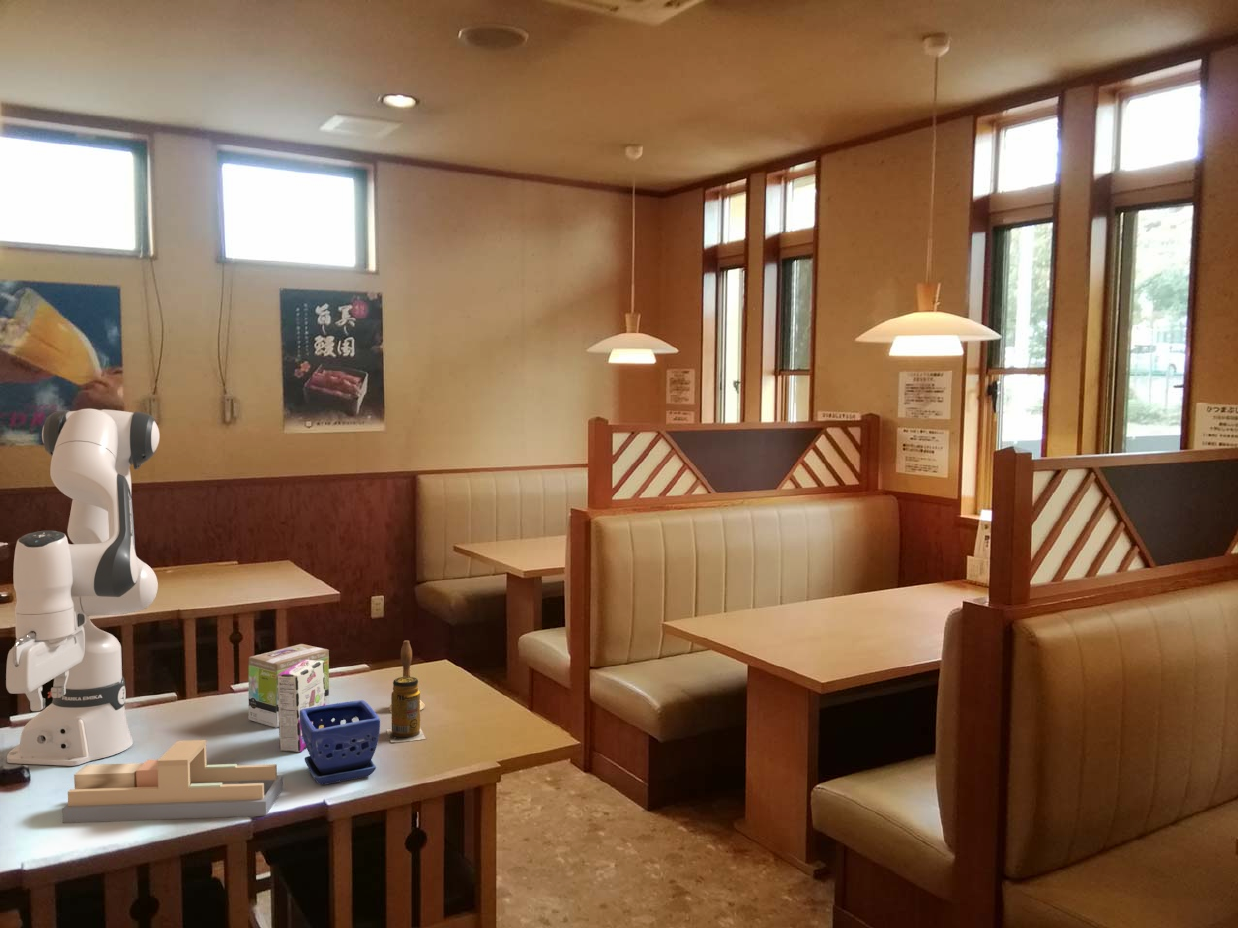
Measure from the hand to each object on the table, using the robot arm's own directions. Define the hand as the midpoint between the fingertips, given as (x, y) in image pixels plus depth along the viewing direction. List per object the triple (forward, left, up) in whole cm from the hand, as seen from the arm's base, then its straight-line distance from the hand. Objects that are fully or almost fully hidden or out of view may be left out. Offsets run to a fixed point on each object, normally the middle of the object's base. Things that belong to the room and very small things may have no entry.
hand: (48, 702), depth 167 cm
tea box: (+29, +47, -20) cm, 59 cm away
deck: (+21, 0, -19) cm, 29 cm away
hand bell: (+55, +50, -19) cm, 77 cm away
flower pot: (+47, +12, -19) cm, 53 cm away
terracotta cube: (+18, 0, -17) cm, 24 cm away
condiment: (+57, +32, -20) cm, 69 cm away
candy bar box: (+36, +29, -19) cm, 51 cm away
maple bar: (+10, 0, -17) cm, 19 cm away
